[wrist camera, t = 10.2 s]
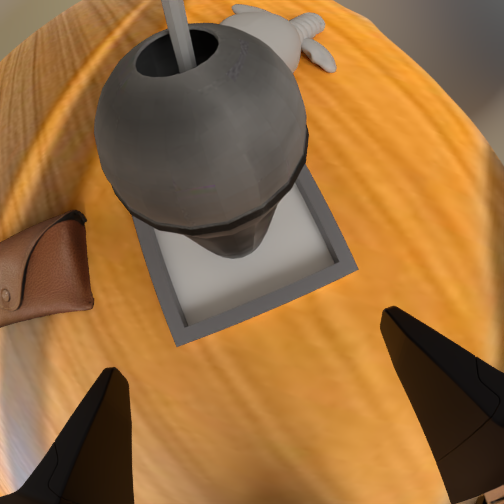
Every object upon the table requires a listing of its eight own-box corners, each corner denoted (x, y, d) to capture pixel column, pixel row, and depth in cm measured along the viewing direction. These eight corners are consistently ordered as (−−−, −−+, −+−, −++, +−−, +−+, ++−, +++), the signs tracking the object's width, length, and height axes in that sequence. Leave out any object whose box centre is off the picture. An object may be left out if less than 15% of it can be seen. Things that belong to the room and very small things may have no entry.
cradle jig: (184, 343, 20) (176, 347, 18) (132, 190, 22) (123, 180, 20) (349, 273, 20) (358, 269, 18) (276, 131, 23) (277, 117, 21)
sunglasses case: (-15, 338, 20) (-55, 304, 15) (-1, 289, 25) (-34, 254, 20) (99, 309, 20) (50, 254, 16) (108, 247, 25) (73, 193, 20)
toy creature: (374, 32, 22) (291, 118, 16) (339, 67, 29) (251, 164, 23) (283, -30, 20) (144, 20, 14) (260, 10, 27) (140, 81, 21)
